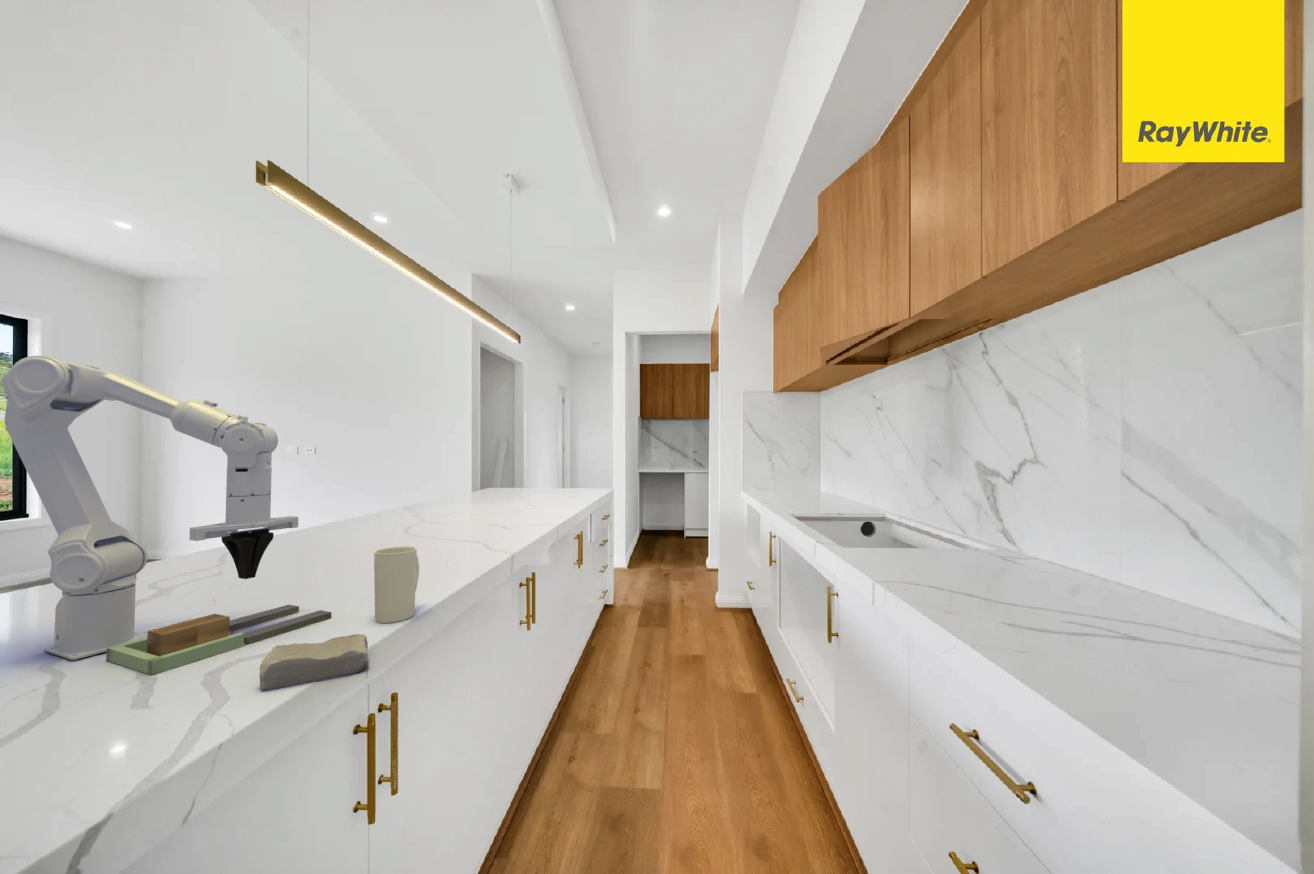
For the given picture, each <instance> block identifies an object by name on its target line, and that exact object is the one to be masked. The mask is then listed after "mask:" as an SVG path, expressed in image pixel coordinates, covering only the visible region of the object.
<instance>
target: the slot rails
mask: <svg viewBox="0 0 1314 874" xmlns="http://www.w3.org/2000/svg"><path fill="white" fill-rule="evenodd" d="M299 612H300V606H299V605H293V604H286V605H283V606H278V607H275V608H271V609H267V610H264V611H263V610H262V611H260V612H257V613H253V614H249V615H245V616H241V617H238V618H234V619H230V630H229V633H230V632H233V631H238V630H241V629H244V628H247V627H251V626H254V625H258V624H261V623H265V622H269V621H271V620H276V619H279V618H282V617H285V616H289V614H290V615H293V614H296V613H299ZM292 613H293V614H292ZM278 617H279V618H278ZM329 619H332V611H327V610H322V609H319V610H316V611H313V612H310V613H307V614H302V615H300V616H296V617H293V618H290V619H286V620H281V621H280V622H276V623H272V624H269V625H266V626H263V627H258V628H256V629H253V630H250V631H246V632H241V633H242V634H244V645H250V644H254V643H256V642H260V641H262V640H266V639H269V638H272V637H275V636H279V635H283V634H284V633H288V632H291V631H294V630H298V629H300V628H303V627H306V626H309V625H314V624H316V623H318V622H323V621H326V620H329ZM264 621H265V622H264ZM278 634H279V635H278Z"/></svg>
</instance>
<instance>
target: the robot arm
mask: <svg viewBox="0 0 1314 874" xmlns="http://www.w3.org/2000/svg"><path fill="white" fill-rule="evenodd" d="M0 381H1V384H2V386H3V388H4V389H5V391H6V394H7V399H6V406H5V413H4V426H5V429H6V431H7V433H8V435H9V437H10V439H11V441H12V443H13V445H14V447H15V449H16V452H17V454H18V456H19V458H20V460H21V461H22V463H23V466H24V468H25V470H26V471H27V474H28V476H29V478H30V481H31V482H32V484H33V486H34V489H35V490H36V492H37V494H38V496H39V498H40V500H41V503H42V505H43V507H44V508H45V510H46V513H47V515H48V516H49V520H50V521H51V523H52V525H53V527H54V530H55V531H56V533H57V537H56V538H55V540H54V541H53V543H51V545H50V547H49V548H48V550H47V554H48V556H49V559H50V561H51V567H50V572H49V575H50V576H49V577H50V580H51V582H52V584H53V585H54V586H55V587H56V588H57V589H59V590H61V592H62V593H61V594H62V595H61V596H62V597H61V598H60V599H59V601H58V602H57V603H56V605H55V609H54V610H55V613H54V640H53V641H54V642H53V645H49V646H46V647H44V650H43V651H45V652H47V653H49V654H53V655H56V656H58V657H59V656H60V657H61V658H65V659H68V660H71V661H75V660H76V661H77V660H78V659H84V658H86V657H92V656H94V655H99V654H103V653H107V648H108V647H112V646H116V645H120V644H124V643H127V642H131V641H135V640H139V639H143V638H146V636H143V635H140V634H136V633H135V624H136V623H135V620H136V619H135V618H136V617H135V616H136V589H137V587H136V583H137V575H138V573H140V572H141V571H143V569H145V567H146V564H147V562H148V553H147V550H146V548H145V547H144V546H143V545H142V544H141V543H139V542H137V541H136V540H135V539H134V538H132V536H131V533H130V531H129V530H128V529H127V528H125V527H123V526H121V525H119V523H118V524H117V523H116V522H114V521H112V519H111V517H110V515H109V512H108V510H107V509H106V507H105V505H104V502H103V501H102V498H101V497H100V493H99V492H98V490H97V488H96V486H95V483H94V481H93V479H92V477H91V476H90V473H89V471H88V468H87V467H86V464H85V463H84V461H83V459H82V456H81V454H80V453H79V449H78V448H77V446H76V444H75V441H74V440H73V438H72V436H71V434H70V433H71V432H70V431H69V426H70V425H72V423H73V422H74V421H75V420H76V419H77V418H79V417H80V416H82V415H83V414H85V413H86V412H88V411H90V410H91V409H93V408H94V407H96V406H97V405H99V404H101V403H102V402H103V401H111V402H113V401H114V402H115V401H118V402H121V403H124V404H127V405H130V406H133V407H135V408H138V409H141V410H143V411H146V412H149V413H152V414H155V415H157V416H160V417H163V418H165V419H168V420H170V422H171V426H172V427H173V429H174V430H175V432H178V433H181V434H184V435H187V436H189V437H190V438H191V437H192V438H194V439H196V440H200V441H201V442H204V443H207V444H209V445H212V446H214V447H217V448H221V450H222V451H223V452H224V454H225V455H226V456H227V457H226V460H227V465H226V488H225V489H226V490H225V491H226V492H225V493H226V494H225V522H221V523H220V522H219V523H214V524H213V523H212V524H207V525H200V526H193V527H189V541H195V542H198V541H204V540H208V539H216V538H221V542H222V543H223V545H224V546H225V547H226V549H227V551H228V552H229V554H230V556H231V557H232V561H233V562H234V565H235V569H236V571H237V577H238V578H239V579H243V580H248V579H252V578H256V574H257V572H258V568H259V566H260V563H261V560H262V558H263V555H264V554H265V551H266V550H267V548H268V546H269V545H270V544H271V542H272V541H273V540H274V532H270V531H276V530H284V529H295V528H299V516H295V515H294V516H293V515H292V516H291V515H290V516H282V517H281V516H279V517H271V509H272V508H271V506H272V505H271V503H272V473H273V472H272V468H273V467H272V458H273V457H272V453H273V452H274V451H275V450H276V448H277V447H278V443H279V437H278V434H277V432H276V431H275V430H274V429H273V428H271V427H269V426H268V425H267V424H265V423H262V422H253V423H252V422H249V416H246V415H244V414H238V415H236V414H234V413H232V412H230V411H227V410H224V409H222V408H219V407H218V405H219V403H217V402H216V401H214V400H209V399H204V400H203V401H202V400H200V399H193V400H192V399H191V400H188V401H181V400H179V399H177V398H175V397H172V396H170V395H168V394H166V393H164V392H161V391H159V390H157V389H155V388H153V387H149V386H147V385H146V384H143V383H141V382H138V381H136V380H134V379H132V378H130V377H127V376H125V375H122V374H119V373H117V372H116V373H115V372H111V371H107V370H103V369H102V368H99V367H97V366H93V365H85V364H84V365H83V364H79V363H73V362H68V361H63V360H59V359H56V358H53V357H51V356H47V355H31V356H27V357H24V358H21V359H19V360H18V361H16V362H15V363H14V364H13V365H12V366H11V367H10V368H9V370H7V372H6V373H4V374H3V376H2V377H1V378H0Z"/></svg>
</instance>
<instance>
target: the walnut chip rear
mask: <svg viewBox="0 0 1314 874" xmlns="http://www.w3.org/2000/svg"><path fill="white" fill-rule="evenodd" d="M230 620H231V617H230V616H229V615H228V616H227V615H225V614H224V615H223V614H219V613H218V614H217V613H212V614H208V615H205V616H204V615H203V616H201V617H196V618H192V619H190V620H189V619H188V620H185V621H183V622H186V623H190V624H194V625H198V643H197V645H200V644H203V643H207V642H210V641H213V640H217V639H220V638H224V637H227V636H230V632H229V630H230Z"/></svg>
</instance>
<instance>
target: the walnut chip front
mask: <svg viewBox="0 0 1314 874" xmlns="http://www.w3.org/2000/svg"><path fill="white" fill-rule="evenodd" d="M146 634H147V652H146V653H149V654H152V655H156V656H163V655H166V654H169V653H173V652H176V651H180V650H183V649H186V648H190V647H193V646H197V643H198V625H194V624H190V623H186V622H184V621H182V622H178V623H173V624H170V625H167V626H166V625H165V626H161V627H158V628H153V629H150V630H147V633H146Z"/></svg>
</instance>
